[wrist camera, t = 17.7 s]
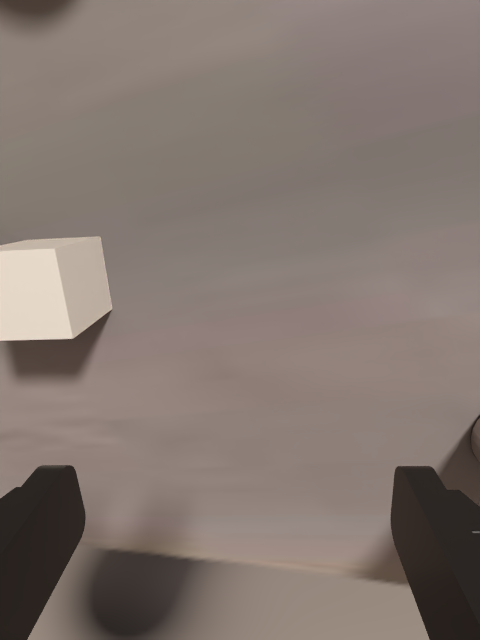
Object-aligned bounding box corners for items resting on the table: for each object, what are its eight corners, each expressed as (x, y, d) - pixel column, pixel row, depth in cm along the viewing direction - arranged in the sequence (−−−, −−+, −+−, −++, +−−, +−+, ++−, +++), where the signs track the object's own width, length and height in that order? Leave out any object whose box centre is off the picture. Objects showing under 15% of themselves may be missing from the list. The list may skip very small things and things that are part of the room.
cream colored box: (112, 309, 36) (72, 338, 29) (44, 311, 37) (-12, 340, 29) (100, 236, 34) (54, 248, 27) (28, 239, 34) (-37, 252, 27)
